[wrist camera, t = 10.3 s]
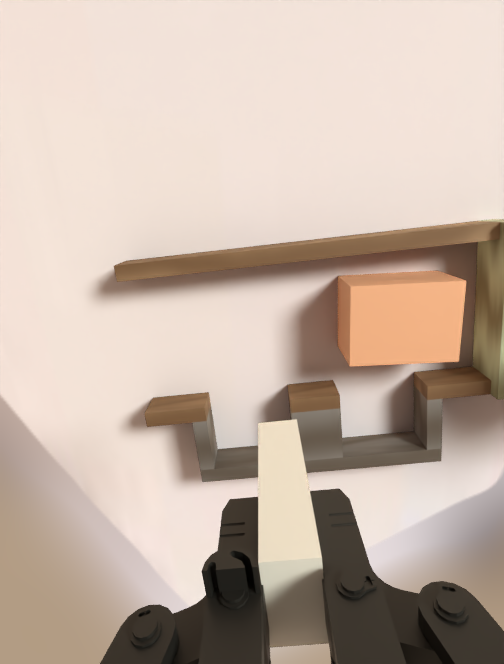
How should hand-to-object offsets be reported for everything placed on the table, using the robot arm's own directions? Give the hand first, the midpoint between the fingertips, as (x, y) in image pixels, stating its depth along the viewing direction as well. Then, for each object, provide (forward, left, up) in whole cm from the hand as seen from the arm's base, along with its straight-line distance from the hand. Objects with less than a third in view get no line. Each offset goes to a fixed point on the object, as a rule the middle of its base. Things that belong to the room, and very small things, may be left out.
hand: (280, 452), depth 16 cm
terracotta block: (0, +10, -20) cm, 22 cm away
